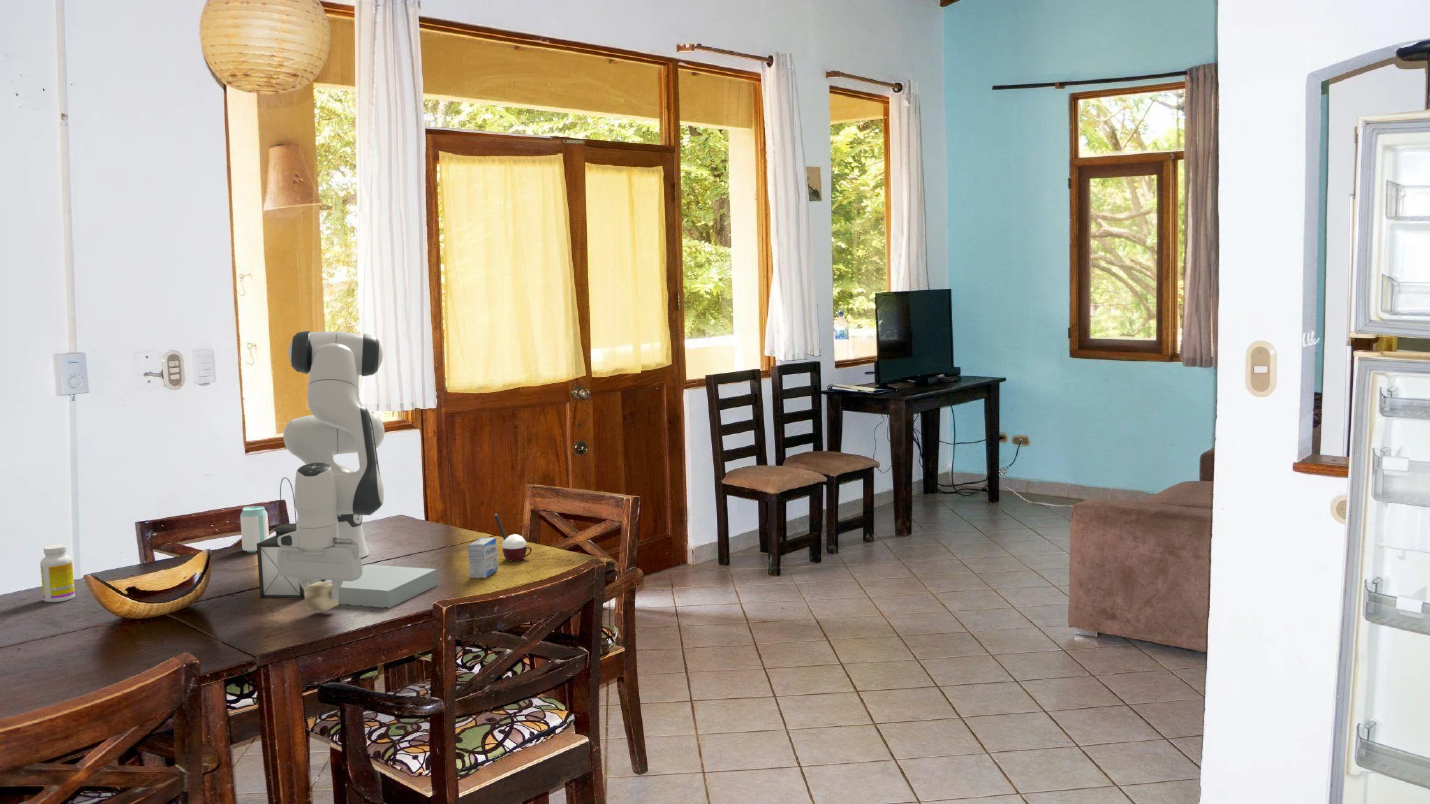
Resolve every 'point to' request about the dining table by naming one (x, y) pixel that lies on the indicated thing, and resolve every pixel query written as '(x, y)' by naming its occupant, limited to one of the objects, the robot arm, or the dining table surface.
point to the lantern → (268, 570)
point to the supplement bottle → (57, 574)
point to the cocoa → (513, 545)
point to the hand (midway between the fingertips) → (321, 597)
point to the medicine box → (482, 557)
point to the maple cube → (319, 596)
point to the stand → (386, 585)
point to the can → (253, 527)
